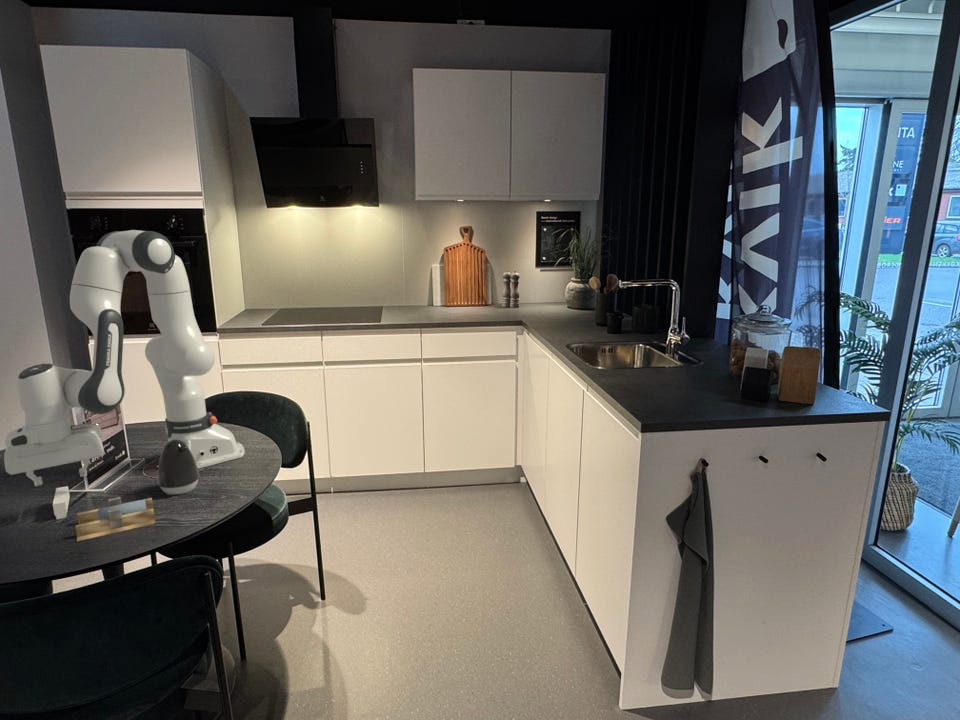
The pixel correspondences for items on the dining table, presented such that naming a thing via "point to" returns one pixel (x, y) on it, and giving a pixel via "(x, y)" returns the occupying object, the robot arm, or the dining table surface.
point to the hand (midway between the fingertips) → (61, 480)
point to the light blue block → (123, 508)
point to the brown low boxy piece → (112, 520)
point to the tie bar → (61, 502)
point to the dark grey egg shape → (177, 468)
